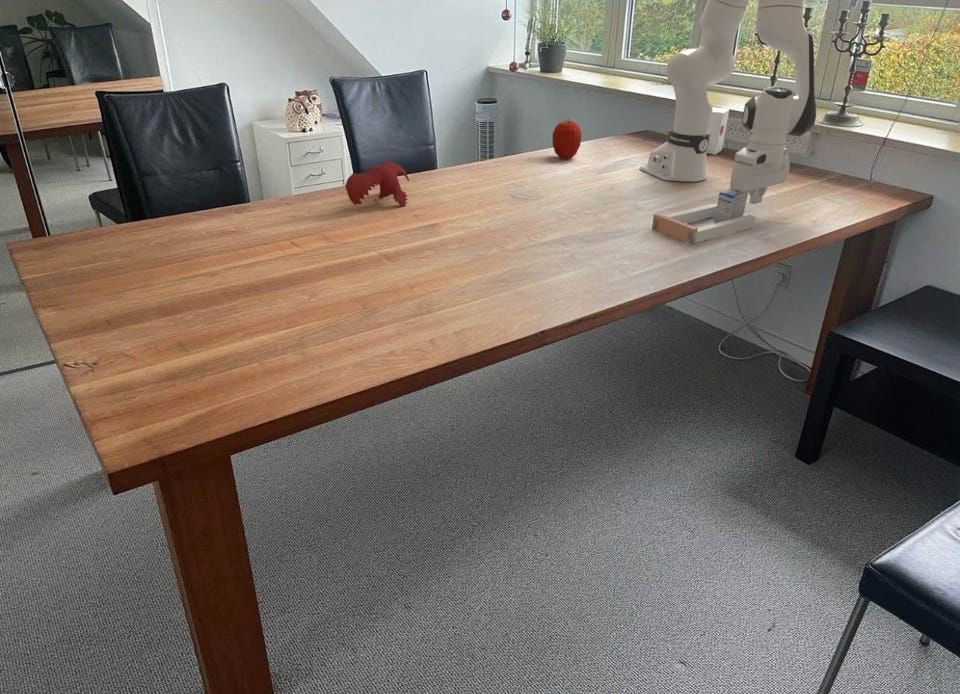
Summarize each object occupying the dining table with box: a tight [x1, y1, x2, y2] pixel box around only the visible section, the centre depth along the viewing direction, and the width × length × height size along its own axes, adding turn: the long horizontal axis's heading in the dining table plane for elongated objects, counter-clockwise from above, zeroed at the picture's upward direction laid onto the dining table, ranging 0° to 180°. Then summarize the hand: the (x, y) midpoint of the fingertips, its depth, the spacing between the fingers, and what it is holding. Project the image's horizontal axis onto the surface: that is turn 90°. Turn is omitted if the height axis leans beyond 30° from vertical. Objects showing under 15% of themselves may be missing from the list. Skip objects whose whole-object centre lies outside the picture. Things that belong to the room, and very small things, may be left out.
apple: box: [552, 118, 582, 160], centre depth 245 cm, size 10×10×14 cm
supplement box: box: [706, 106, 730, 155], centre depth 257 cm, size 9×9×15 cm
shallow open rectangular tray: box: [651, 202, 756, 245], centre depth 185 cm, size 14×24×4 cm, turn 123°
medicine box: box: [713, 187, 749, 224], centre depth 188 cm, size 8×4×9 cm, turn 135°
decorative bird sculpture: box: [345, 160, 410, 207], centre depth 199 cm, size 28×9×15 cm
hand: (755, 202), depth 194 cm, fingers closed
